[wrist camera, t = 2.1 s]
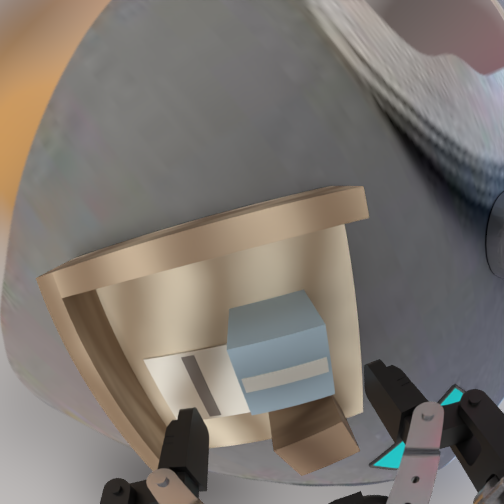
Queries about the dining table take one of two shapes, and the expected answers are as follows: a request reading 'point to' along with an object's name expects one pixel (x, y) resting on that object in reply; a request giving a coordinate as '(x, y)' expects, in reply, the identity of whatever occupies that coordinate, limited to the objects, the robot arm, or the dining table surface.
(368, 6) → the dining table surface
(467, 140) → the dining table surface
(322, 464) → the walnut block
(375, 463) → the flat teal bar
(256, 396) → the block
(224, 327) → the tray
